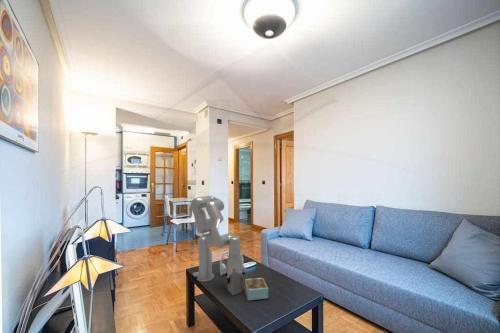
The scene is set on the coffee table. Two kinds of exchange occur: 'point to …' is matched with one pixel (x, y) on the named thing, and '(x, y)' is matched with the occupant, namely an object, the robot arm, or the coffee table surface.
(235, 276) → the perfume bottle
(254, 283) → the cubby
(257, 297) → the gate
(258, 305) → the coffee table surface
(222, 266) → the headset
